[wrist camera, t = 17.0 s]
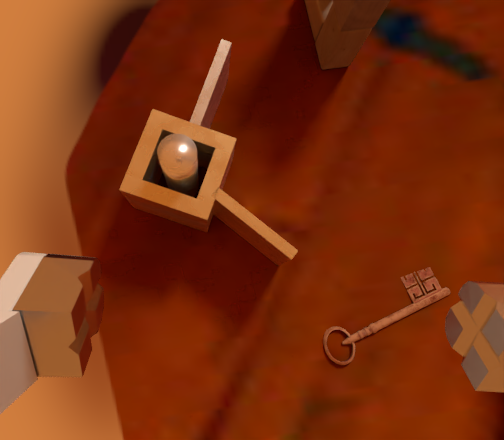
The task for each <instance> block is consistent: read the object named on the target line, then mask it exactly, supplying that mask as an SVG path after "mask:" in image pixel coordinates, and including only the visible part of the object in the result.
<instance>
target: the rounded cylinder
mask: <svg viewBox="0 0 504 440" xmlns="http://www.w3.org/2000/svg"><path fill="white" fill-rule="evenodd" d="M157 154H158V158H159V161H160V165H161V168H162V171H163V174H164V177H165V180H166V183H167V186H168V189H170V190H173V191H176V192H179V193H182V194H185V195H188V196H191V197H193V196H194V195H195V194H196V193H197V191H198V188H199V178H198V159H197V148H196V145H195V143H194V142H193V140H192V139H191V138H189V137H188V136H186V135H183V134H171V135H168V136H166V137H165V138H164V139H163V140H162V141H161V142H160V144H159V146H158V150H157Z"/></svg>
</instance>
